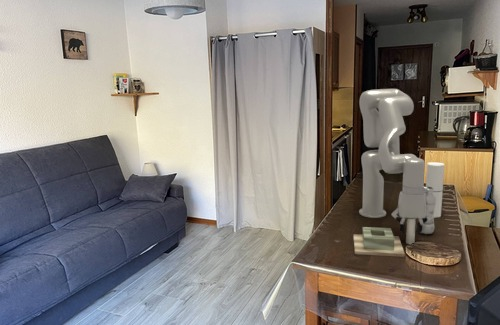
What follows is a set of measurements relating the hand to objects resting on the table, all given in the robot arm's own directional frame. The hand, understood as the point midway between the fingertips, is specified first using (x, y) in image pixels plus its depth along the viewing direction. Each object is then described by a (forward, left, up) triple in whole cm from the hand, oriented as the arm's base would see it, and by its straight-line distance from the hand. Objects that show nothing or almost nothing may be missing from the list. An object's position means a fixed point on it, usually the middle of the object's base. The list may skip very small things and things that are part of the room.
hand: (410, 232), depth 152 cm
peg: (0, 0, -4) cm, 4 cm away
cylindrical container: (-33, +16, -5) cm, 37 cm away
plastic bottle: (-11, +8, -5) cm, 14 cm away
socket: (+5, -13, -4) cm, 15 cm away
